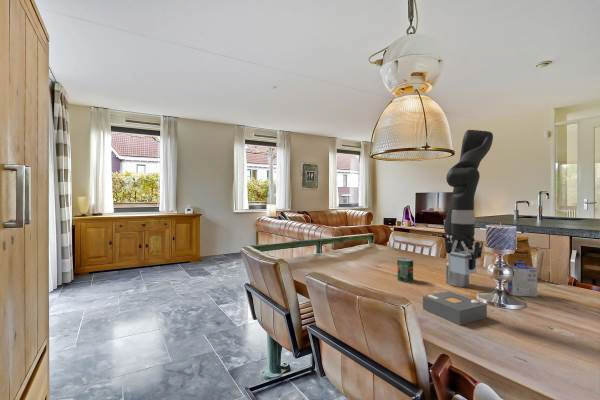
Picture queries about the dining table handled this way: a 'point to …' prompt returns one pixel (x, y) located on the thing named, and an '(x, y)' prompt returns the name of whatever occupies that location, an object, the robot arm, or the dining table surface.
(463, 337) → the dining table surface
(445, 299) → the breaker button
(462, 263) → the cap
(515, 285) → the ink cartridge box
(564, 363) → the dining table surface
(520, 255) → the coffee package
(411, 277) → the canned tomato
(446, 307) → the box
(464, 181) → the robot arm
